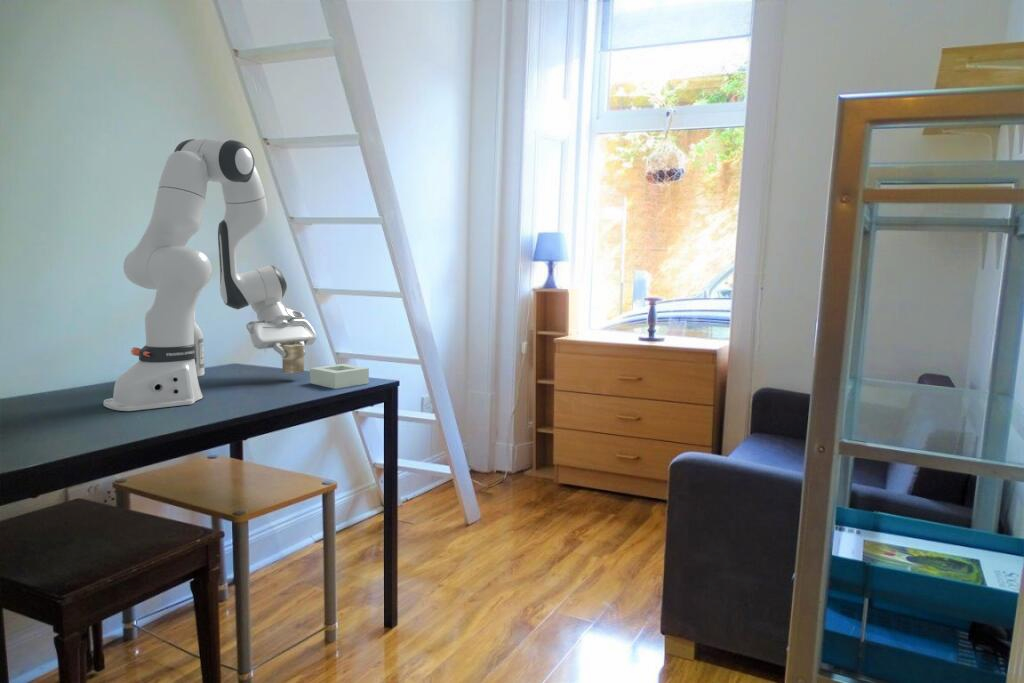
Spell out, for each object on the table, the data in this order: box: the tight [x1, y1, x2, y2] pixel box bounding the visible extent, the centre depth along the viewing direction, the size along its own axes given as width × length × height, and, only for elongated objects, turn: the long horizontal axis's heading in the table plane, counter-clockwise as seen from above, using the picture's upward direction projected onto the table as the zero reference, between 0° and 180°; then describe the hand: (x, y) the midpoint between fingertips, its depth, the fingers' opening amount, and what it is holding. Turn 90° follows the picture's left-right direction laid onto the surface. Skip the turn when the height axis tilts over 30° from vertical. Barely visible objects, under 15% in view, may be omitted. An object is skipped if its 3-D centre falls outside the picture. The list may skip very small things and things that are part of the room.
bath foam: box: [194, 310, 205, 378], centre depth 215 cm, size 7×7×20 cm
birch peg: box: [281, 344, 305, 374], centre depth 212 cm, size 4×4×8 cm
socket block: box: [309, 363, 370, 390], centre depth 208 cm, size 12×12×4 cm
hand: (294, 355), depth 211 cm, fingers closed on birch peg, 4 cm apart
